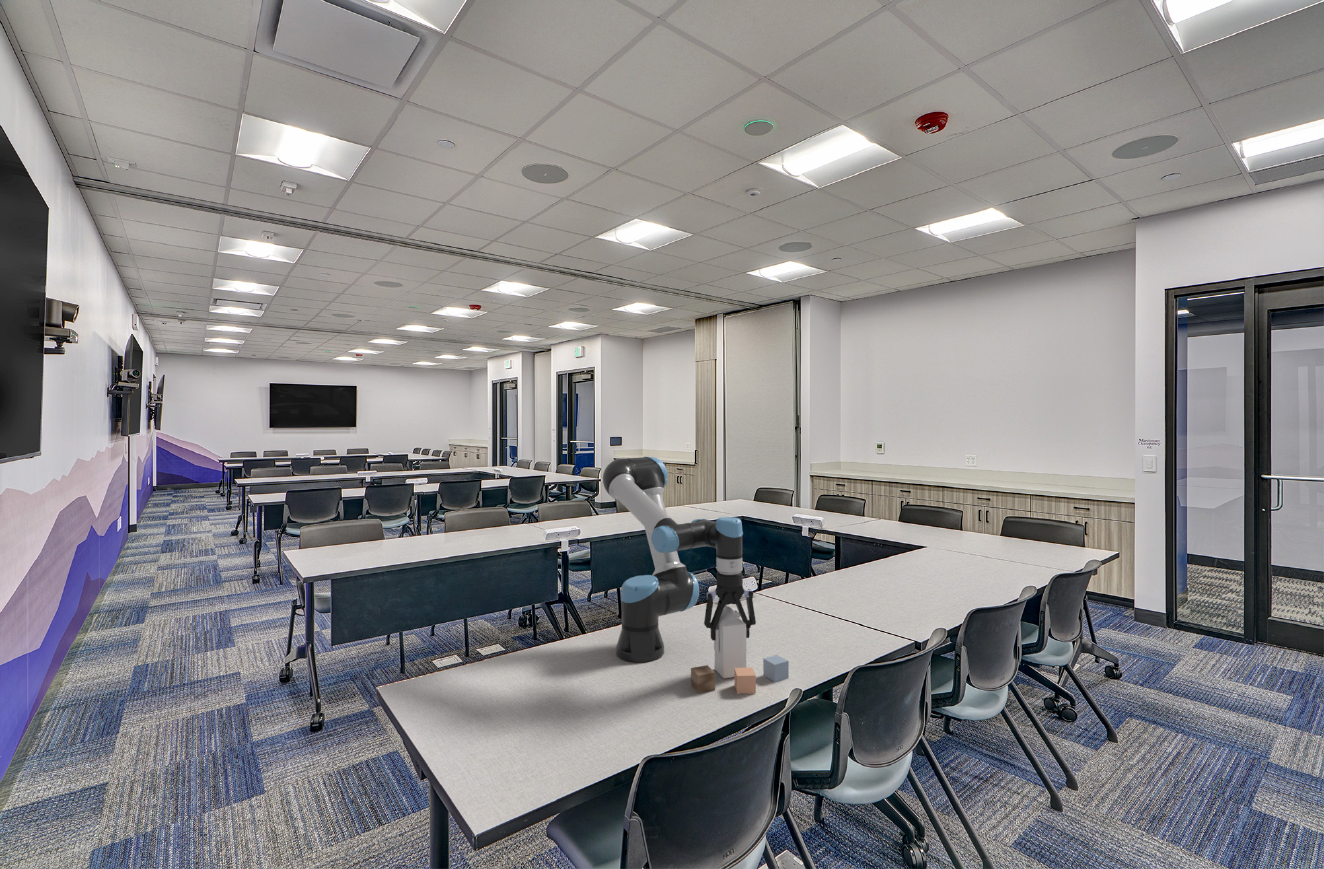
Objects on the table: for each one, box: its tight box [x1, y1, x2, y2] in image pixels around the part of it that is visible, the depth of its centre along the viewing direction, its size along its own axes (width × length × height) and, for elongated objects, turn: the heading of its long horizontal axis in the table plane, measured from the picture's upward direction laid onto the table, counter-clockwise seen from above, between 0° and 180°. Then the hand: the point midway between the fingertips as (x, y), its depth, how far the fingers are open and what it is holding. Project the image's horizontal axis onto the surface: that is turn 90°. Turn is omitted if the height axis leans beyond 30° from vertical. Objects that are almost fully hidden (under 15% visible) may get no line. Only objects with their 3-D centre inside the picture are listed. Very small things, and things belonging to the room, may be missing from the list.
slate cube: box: [762, 654, 790, 683], centre depth 164 cm, size 5×5×5 cm
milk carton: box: [714, 604, 747, 679], centre depth 167 cm, size 7×7×19 cm
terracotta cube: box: [733, 667, 757, 695], centre depth 157 cm, size 5×5×5 cm
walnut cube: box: [690, 664, 716, 694], centre depth 158 cm, size 5×5×5 cm
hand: (730, 649), depth 167 cm, fingers closed on milk carton, 7 cm apart
